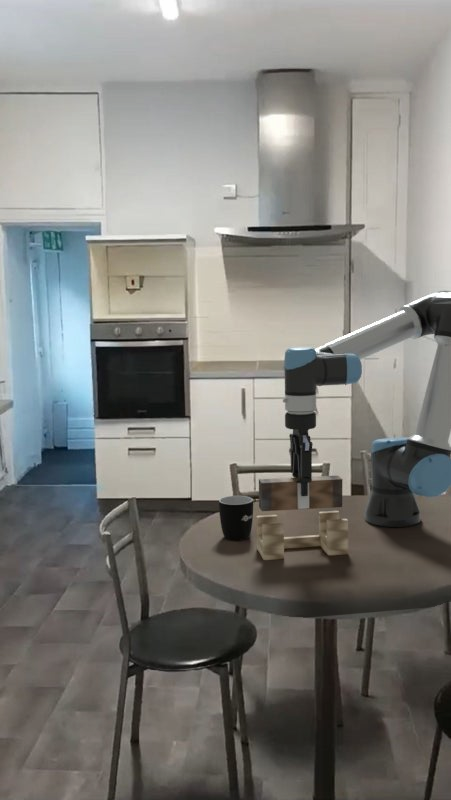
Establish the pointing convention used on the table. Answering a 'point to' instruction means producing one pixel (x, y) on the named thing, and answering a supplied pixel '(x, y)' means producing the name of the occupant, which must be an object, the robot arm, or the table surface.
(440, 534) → the table surface
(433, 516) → the table surface
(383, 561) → the table surface
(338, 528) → the posts
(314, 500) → the brown rectangular block
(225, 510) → the mug
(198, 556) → the table surface
